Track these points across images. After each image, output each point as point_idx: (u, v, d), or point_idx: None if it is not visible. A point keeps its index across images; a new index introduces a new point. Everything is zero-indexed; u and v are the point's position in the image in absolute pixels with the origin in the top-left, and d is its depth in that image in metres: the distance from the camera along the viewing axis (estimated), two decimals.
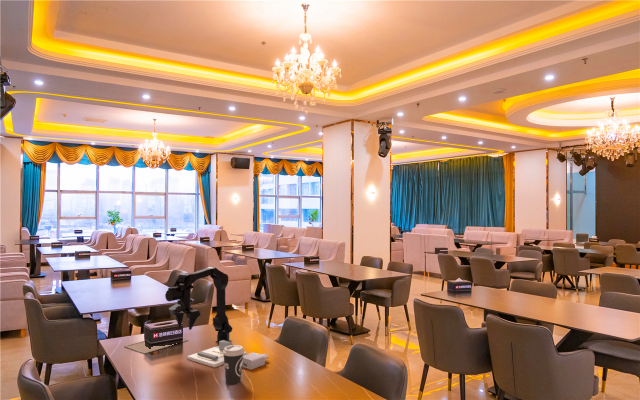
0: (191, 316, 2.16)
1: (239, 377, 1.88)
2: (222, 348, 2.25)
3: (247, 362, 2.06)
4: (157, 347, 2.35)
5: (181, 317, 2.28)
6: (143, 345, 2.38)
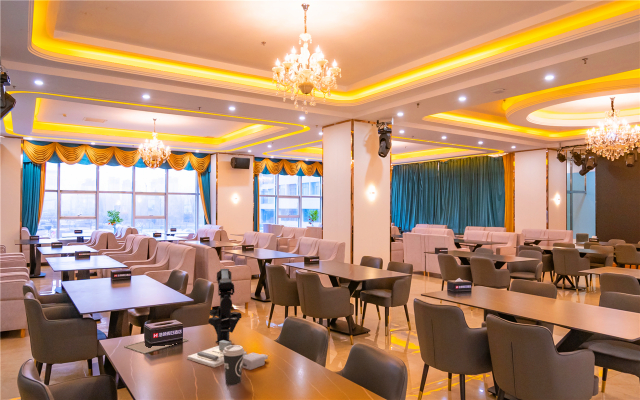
0: (208, 322, 2.20)
1: (239, 377, 1.88)
2: (222, 348, 2.25)
3: (246, 362, 2.06)
4: (157, 347, 2.35)
5: (234, 324, 2.30)
6: (143, 345, 2.38)
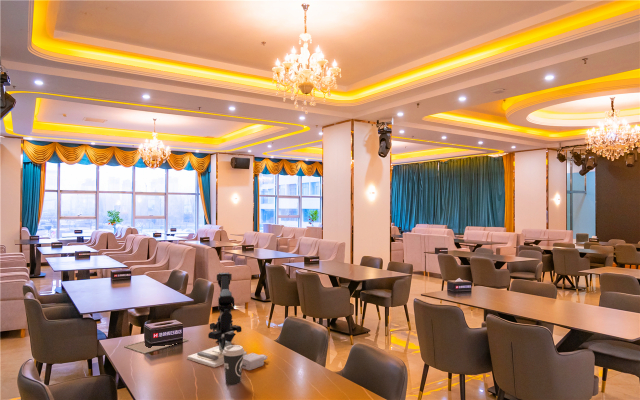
0: (208, 336, 2.20)
1: (239, 377, 1.88)
2: None
3: (245, 363, 2.05)
4: (157, 347, 2.35)
5: (230, 339, 2.27)
6: (143, 345, 2.38)
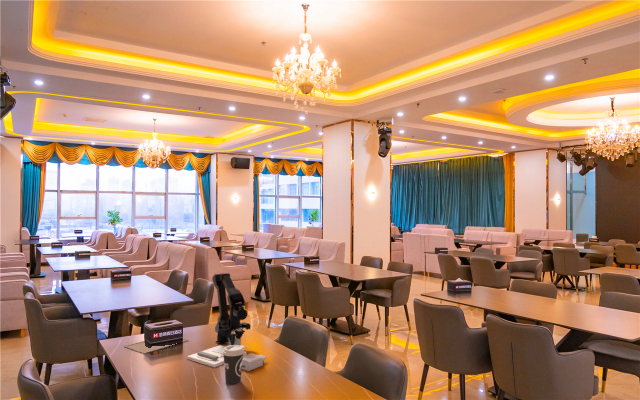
0: (218, 333, 2.26)
1: (239, 377, 1.88)
2: None
3: (245, 363, 2.04)
4: (157, 347, 2.35)
5: (239, 336, 2.33)
6: (143, 345, 2.38)
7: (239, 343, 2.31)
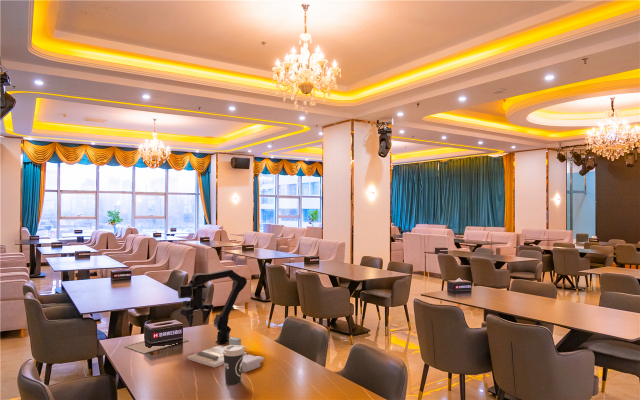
0: None
1: (239, 377, 1.88)
2: None
3: (242, 364, 2.03)
4: (157, 347, 2.35)
5: (206, 315, 2.42)
6: (143, 345, 2.39)
7: (239, 343, 2.31)
